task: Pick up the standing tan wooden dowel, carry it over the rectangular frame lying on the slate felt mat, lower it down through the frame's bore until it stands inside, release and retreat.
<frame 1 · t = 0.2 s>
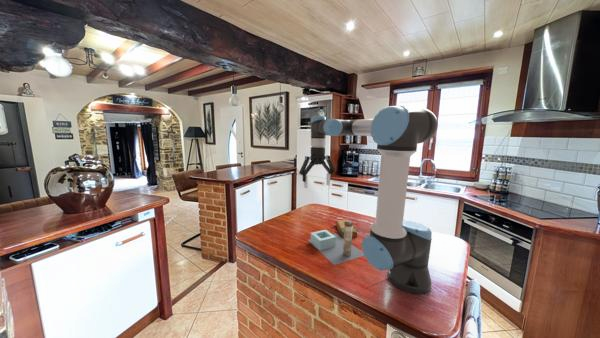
hand: (317, 186, 118), 28 cm above the counter, fingers open, 13 cm apart
tan wooden dowel: (347, 254, 102), point 1 cm above the counter, touching mat
rectangular frame: (322, 244, 111), point 1 cm above the counter, touching mat
carton: (345, 232, 127), on the counter
mat: (335, 248, 109), on the counter
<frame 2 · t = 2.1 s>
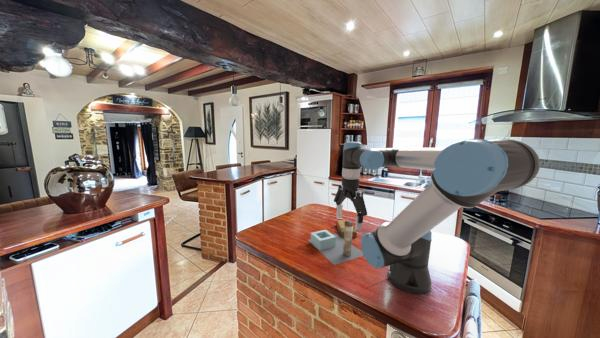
hand: (348, 223, 100), 16 cm above the counter, fingers open, 13 cm apart
nothing on the counter moved.
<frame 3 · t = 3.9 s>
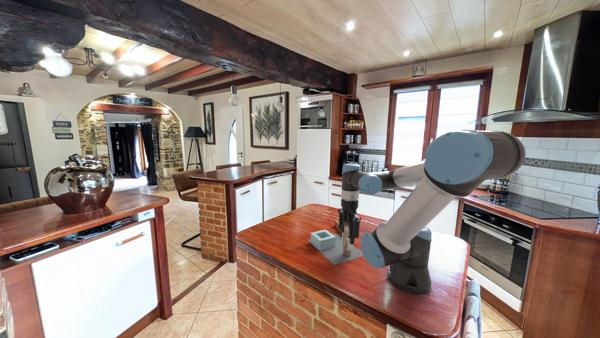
hand: (347, 247, 102), 4 cm above the counter, fingers closed on tan wooden dowel, 3 cm apart
tan wooden dowel: (346, 254, 102), point 1 cm above the counter, touching gripper, mat
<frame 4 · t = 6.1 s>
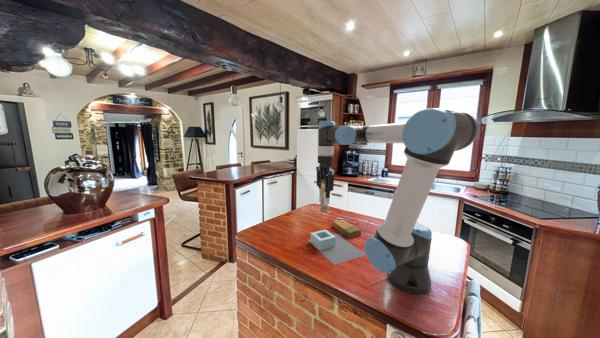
hand: (324, 202, 108), 22 cm above the counter, fingers closed on tan wooden dowel, 3 cm apart
tan wooden dowel: (323, 211, 108), point 18 cm above the counter, touching gripper
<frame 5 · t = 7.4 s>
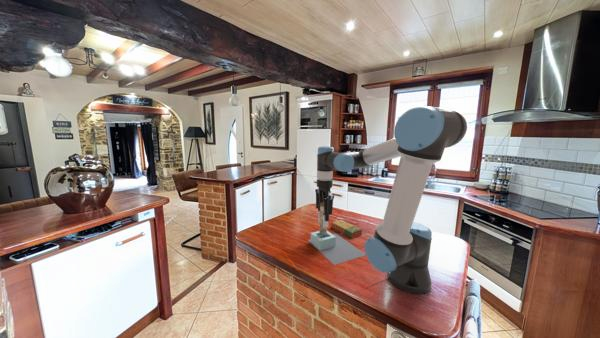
hand: (323, 224, 110), 11 cm above the counter, fingers closed on tan wooden dowel, 3 cm apart
tan wooden dowel: (323, 233, 110), point 6 cm above the counter, touching gripper
when the fingers open (7 cm above the counter, at t = 8.4 s): tan wooden dowel drops 1 cm, resting on mat.
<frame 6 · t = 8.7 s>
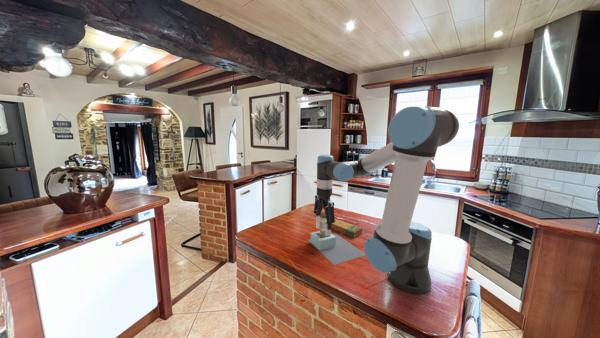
hand: (323, 231, 110), 7 cm above the counter, fingers open, 8 cm apart
tan wooden dowel: (322, 244, 111), point 1 cm above the counter, touching mat
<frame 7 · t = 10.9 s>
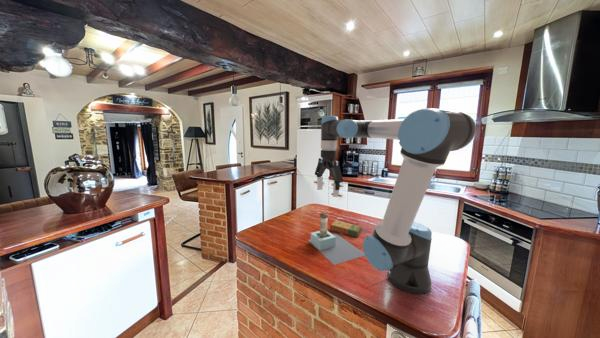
hand: (327, 192, 108), 27 cm above the counter, fingers open, 13 cm apart
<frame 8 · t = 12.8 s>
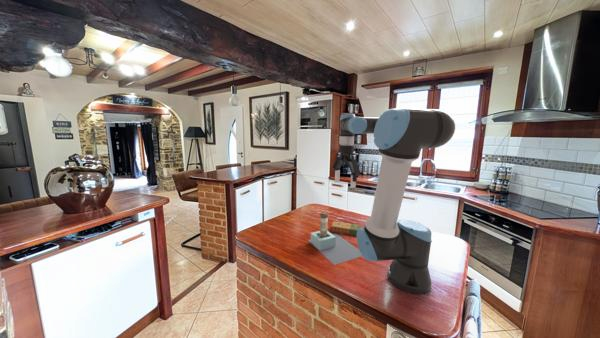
hand: (344, 184, 118), 29 cm above the counter, fingers open, 13 cm apart
at the end: tan wooden dowel 0.0 cm off-centre on the rectangular frame, point 0.0 cm above the rectangular frame's base; tan wooden dowel tilted 1°; the gripper is holding nothing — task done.
